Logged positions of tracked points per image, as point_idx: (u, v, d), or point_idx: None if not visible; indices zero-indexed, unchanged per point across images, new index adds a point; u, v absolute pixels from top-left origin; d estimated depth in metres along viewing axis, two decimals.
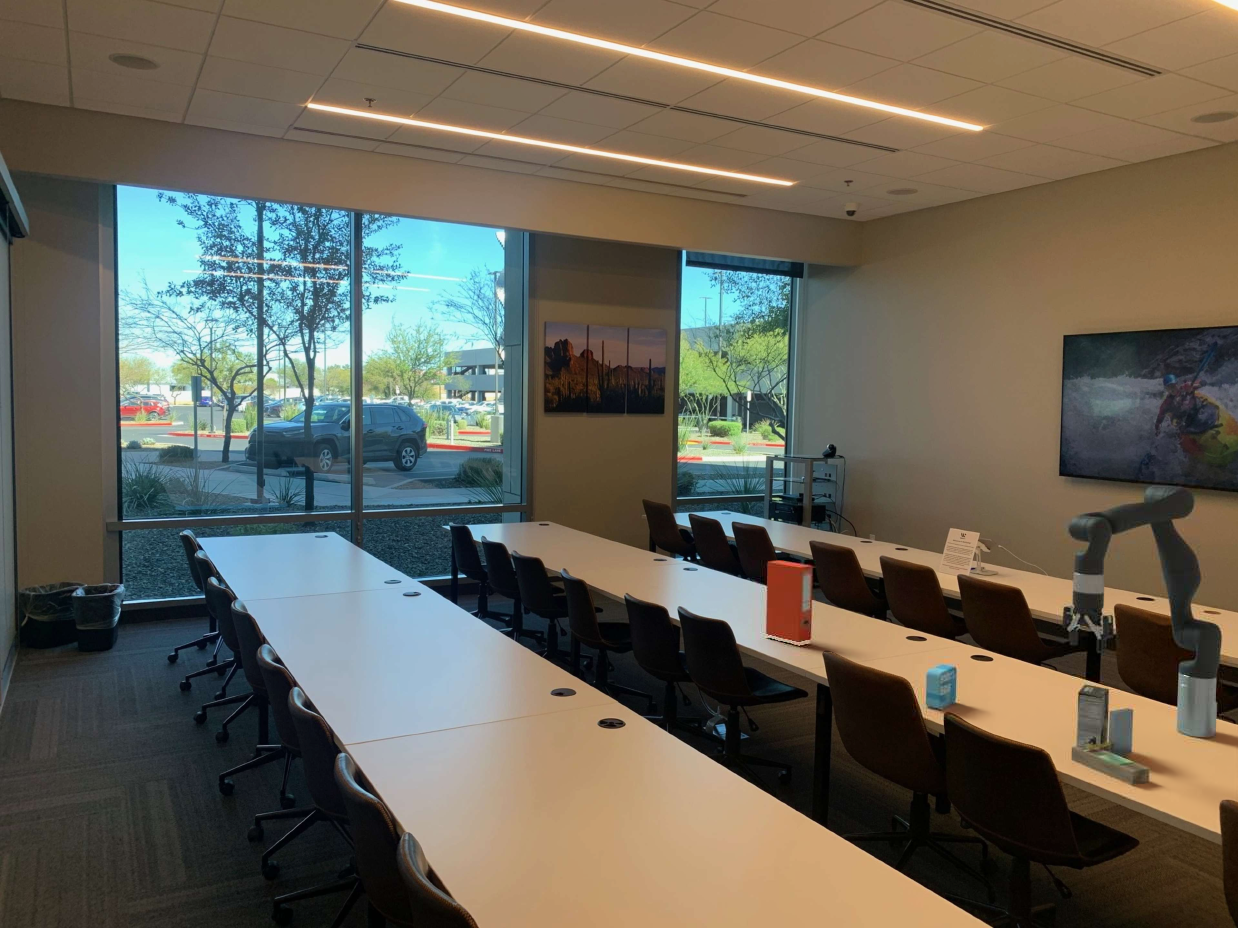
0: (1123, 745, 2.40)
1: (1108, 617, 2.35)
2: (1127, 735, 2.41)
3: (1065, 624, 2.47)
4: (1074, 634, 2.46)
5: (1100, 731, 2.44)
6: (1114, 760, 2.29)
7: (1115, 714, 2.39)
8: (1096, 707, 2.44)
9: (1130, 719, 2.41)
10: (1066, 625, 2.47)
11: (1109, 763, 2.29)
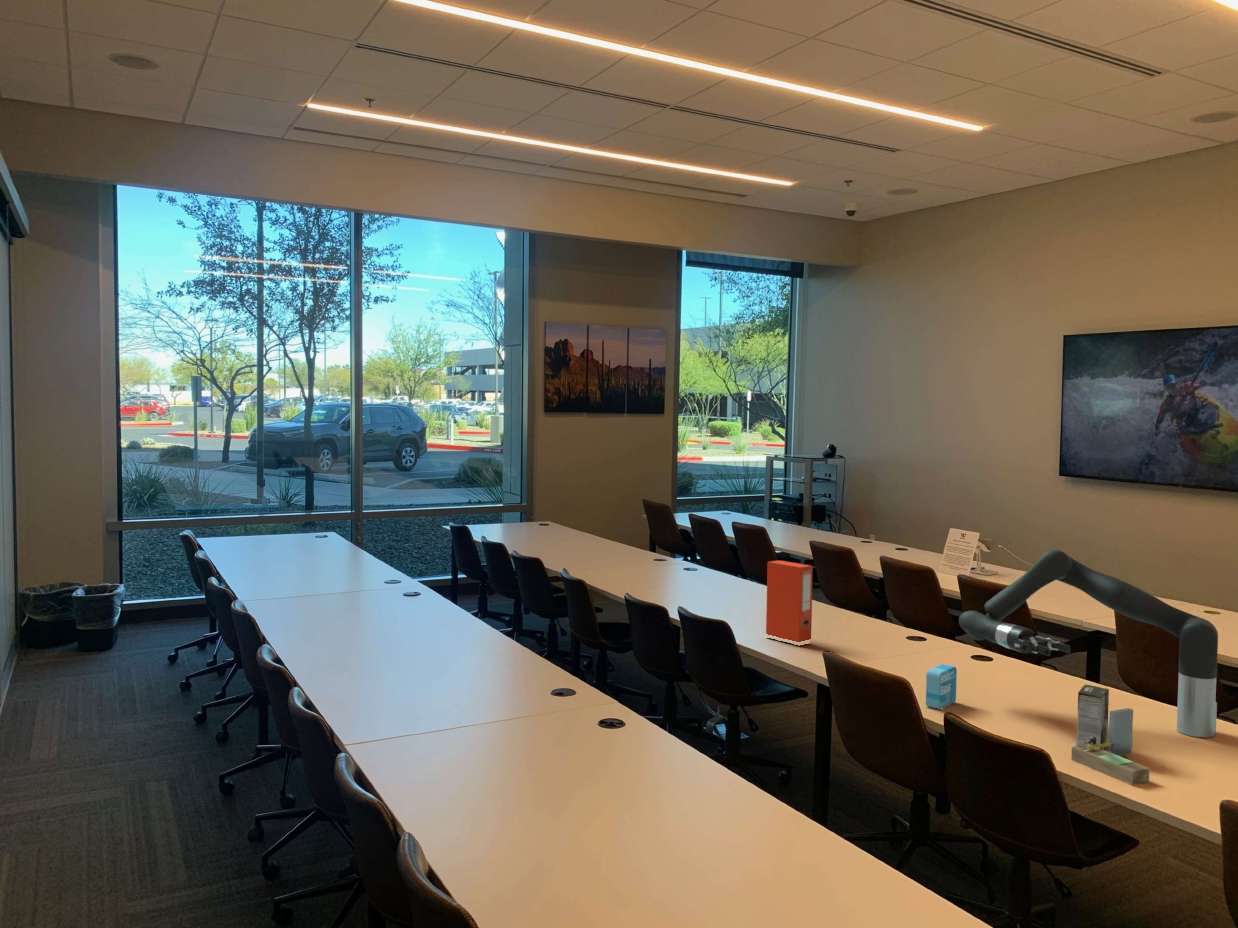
0: (1123, 745, 2.40)
1: (1014, 646, 2.65)
2: (1127, 735, 2.41)
3: None
4: (1060, 647, 2.63)
5: (1100, 731, 2.44)
6: (1114, 760, 2.29)
7: (1115, 714, 2.39)
8: (1096, 707, 2.44)
9: (1130, 719, 2.41)
10: None
11: (1109, 763, 2.29)
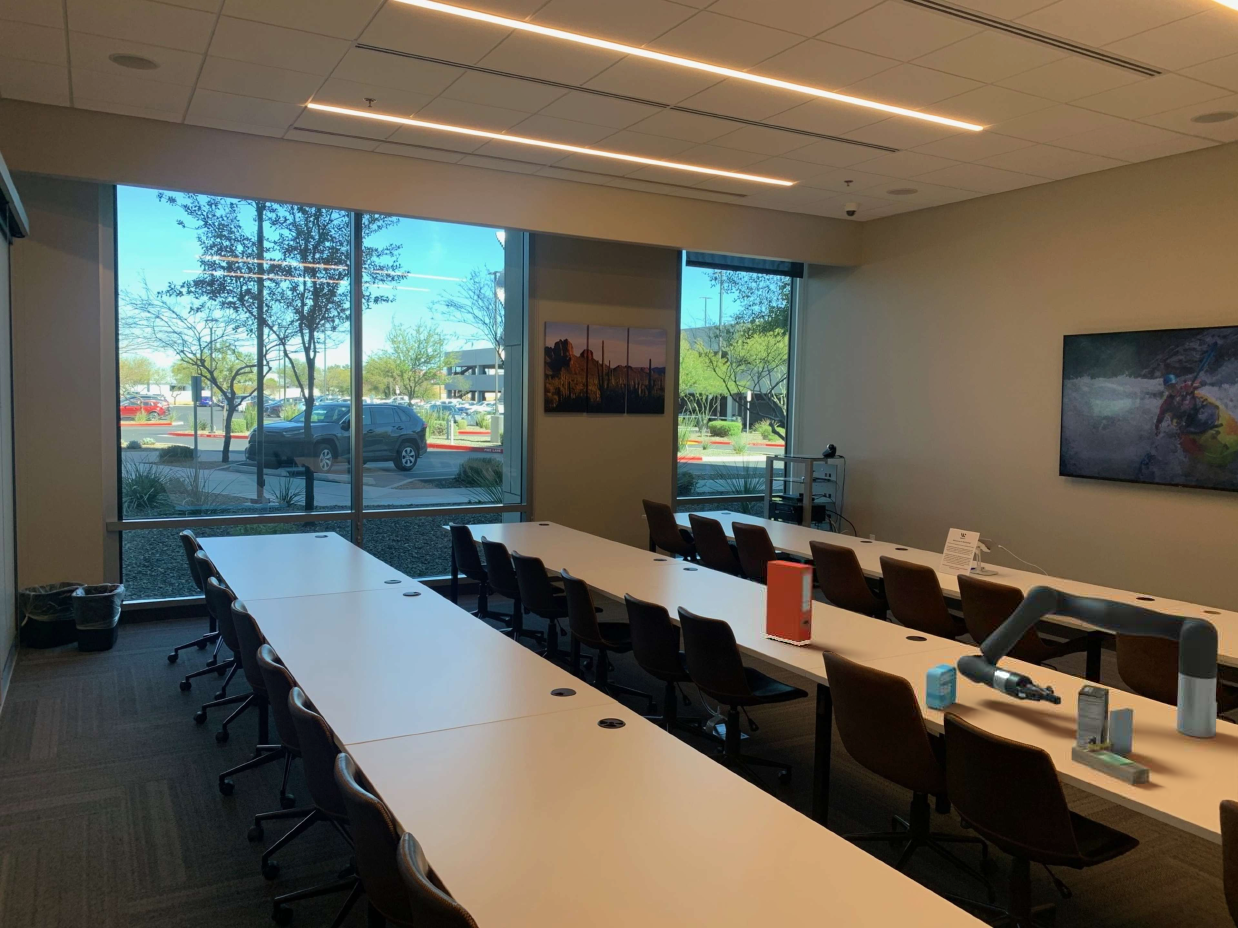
0: (1123, 745, 2.40)
1: (1020, 695, 2.65)
2: (1127, 735, 2.41)
3: None
4: None
5: (1100, 731, 2.44)
6: (1114, 760, 2.29)
7: (1115, 714, 2.39)
8: (1096, 707, 2.44)
9: (1130, 719, 2.41)
10: None
11: (1109, 763, 2.29)
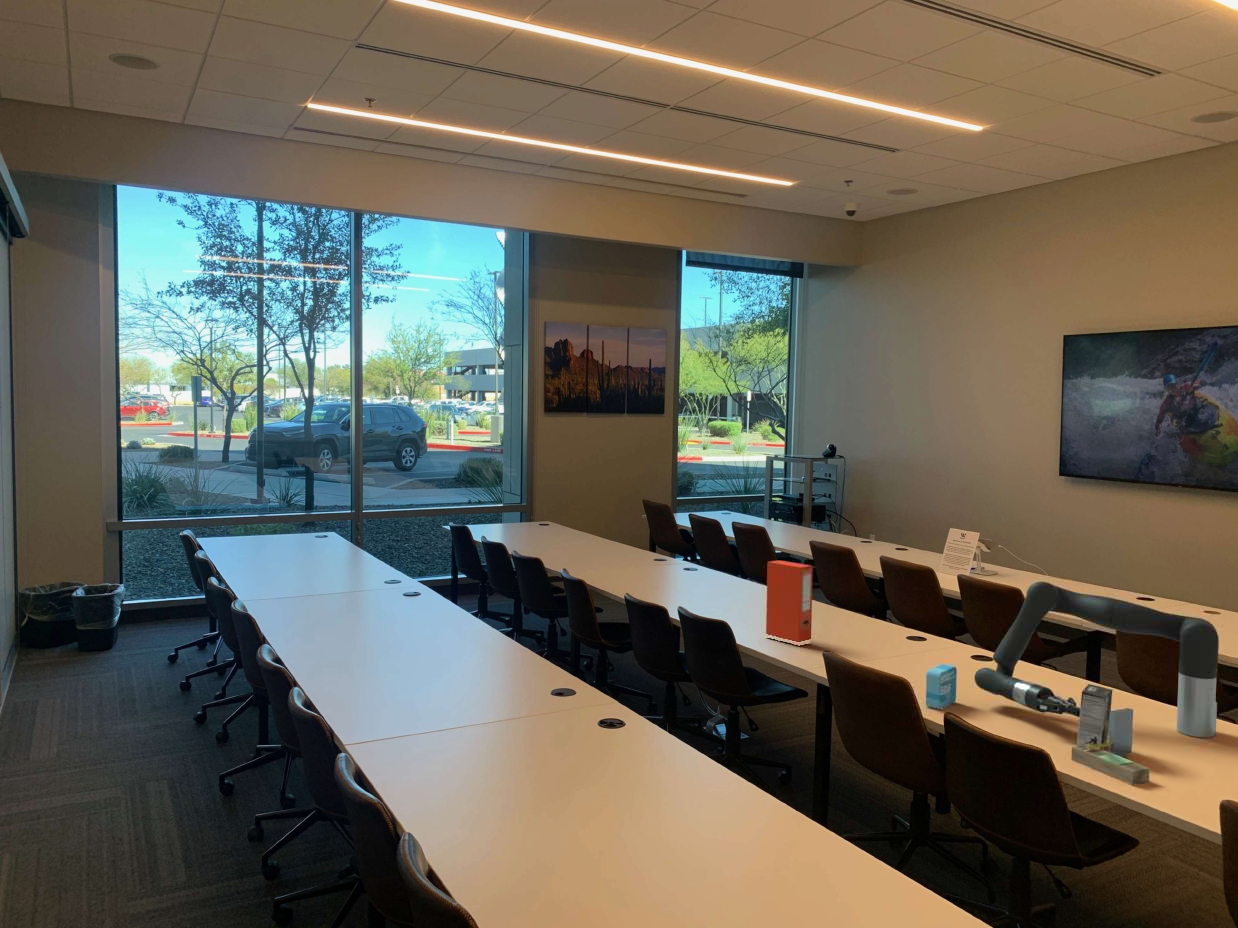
0: (1123, 745, 2.40)
1: (1041, 708, 2.58)
2: (1127, 735, 2.41)
3: None
4: None
5: (1101, 731, 2.44)
6: (1114, 760, 2.29)
7: (1115, 714, 2.39)
8: (1099, 707, 2.43)
9: (1130, 719, 2.41)
10: None
11: (1109, 763, 2.29)
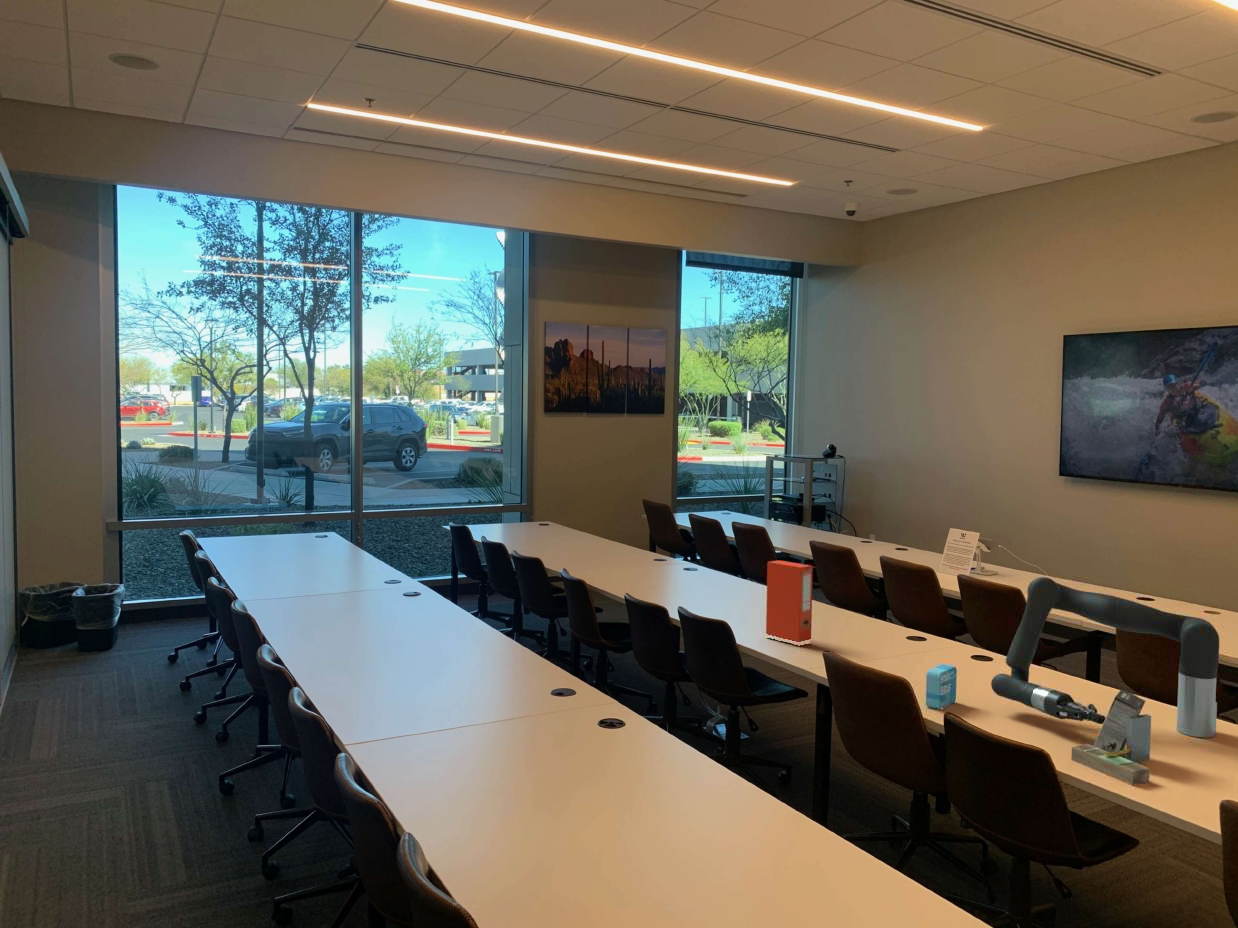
0: (1141, 751, 2.36)
1: (1061, 714, 2.51)
2: (1145, 742, 2.36)
3: None
4: None
5: (1123, 739, 2.38)
6: (1114, 760, 2.29)
7: (1133, 721, 2.34)
8: (1128, 716, 2.37)
9: (1148, 725, 2.36)
10: None
11: (1109, 763, 2.29)
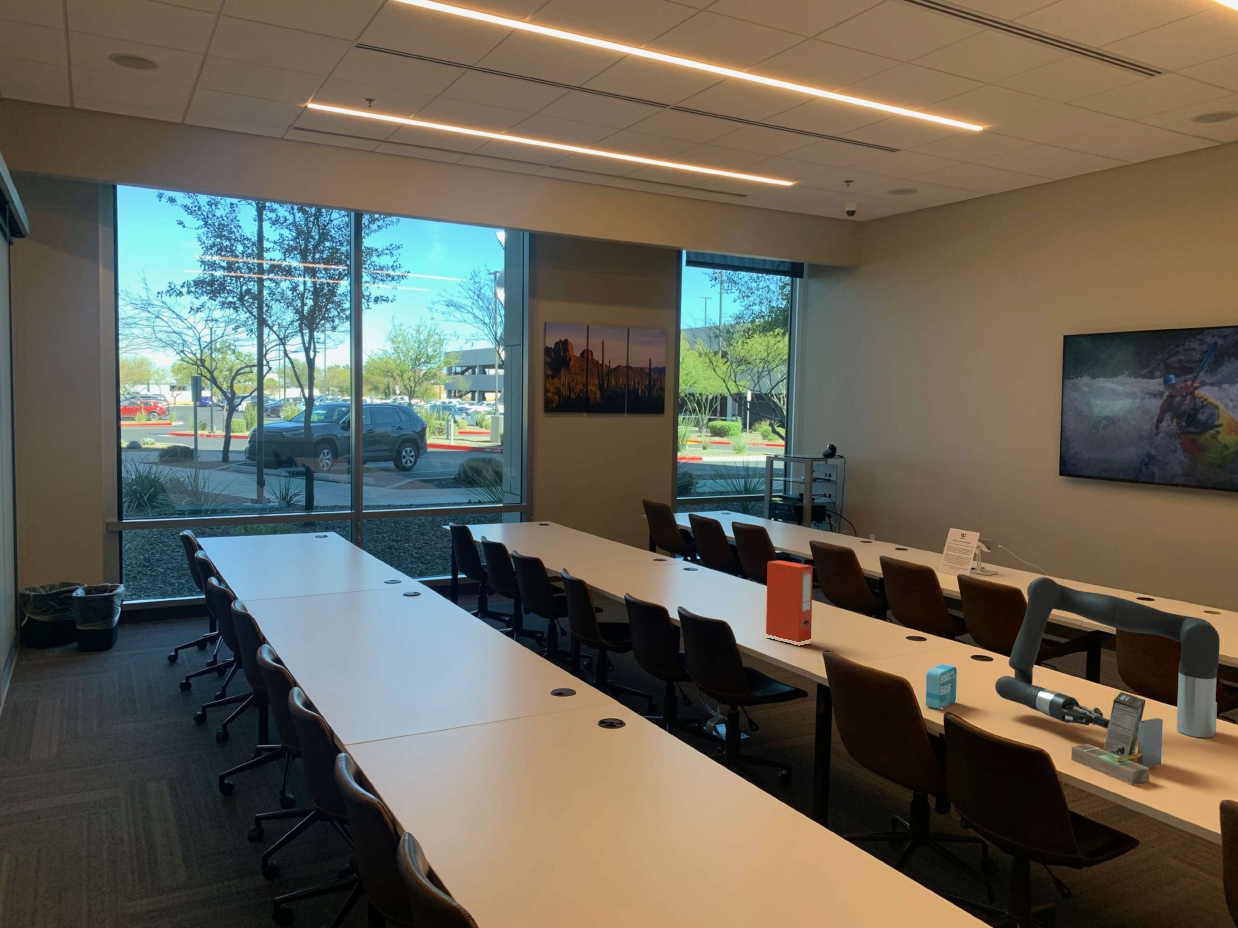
0: (1153, 756, 2.33)
1: (1066, 718, 2.49)
2: (1156, 746, 2.33)
3: None
4: None
5: (1130, 742, 2.36)
6: (1114, 760, 2.29)
7: (1144, 725, 2.31)
8: (1131, 717, 2.35)
9: (1160, 729, 2.33)
10: None
11: (1109, 763, 2.29)
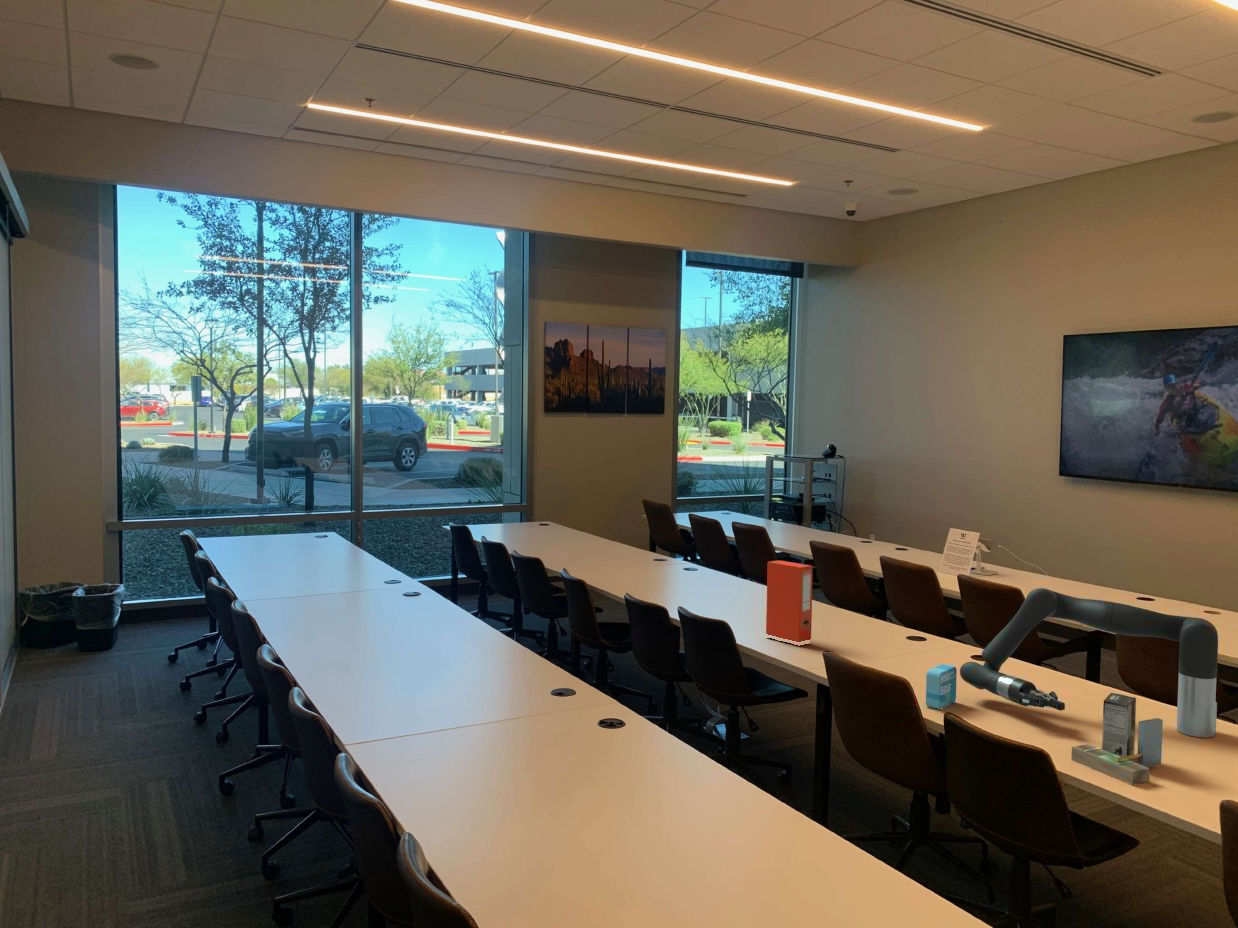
0: (1153, 756, 2.33)
1: (1023, 701, 2.64)
2: (1156, 746, 2.33)
3: None
4: None
5: (1126, 741, 2.36)
6: (1114, 760, 2.29)
7: (1144, 725, 2.31)
8: (1122, 716, 2.37)
9: (1160, 729, 2.33)
10: None
11: (1109, 763, 2.29)
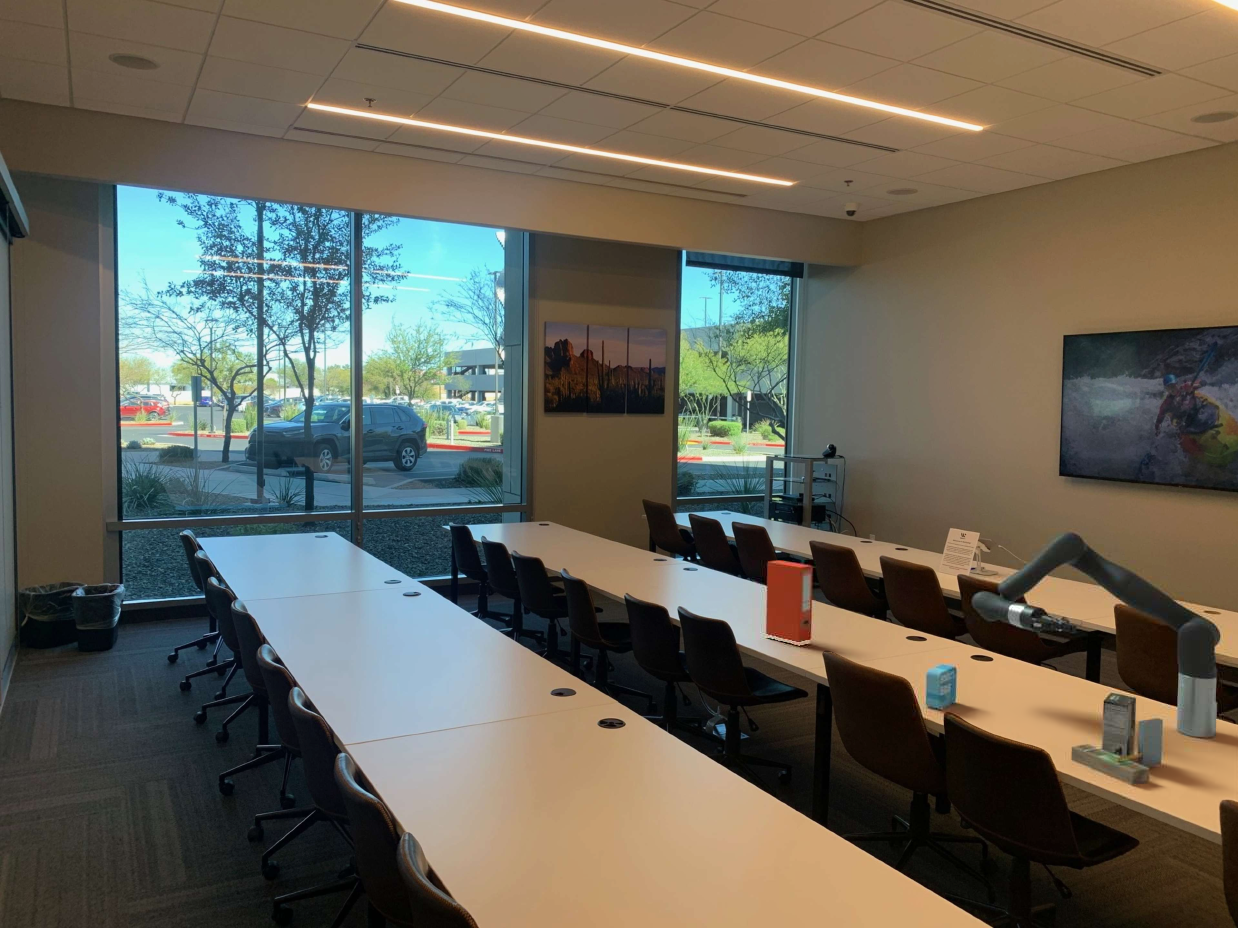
0: (1153, 756, 2.33)
1: (1035, 625, 2.67)
2: (1156, 746, 2.33)
3: None
4: None
5: (1126, 741, 2.36)
6: (1114, 760, 2.29)
7: (1144, 725, 2.31)
8: (1122, 716, 2.37)
9: (1160, 729, 2.33)
10: None
11: (1109, 763, 2.29)
